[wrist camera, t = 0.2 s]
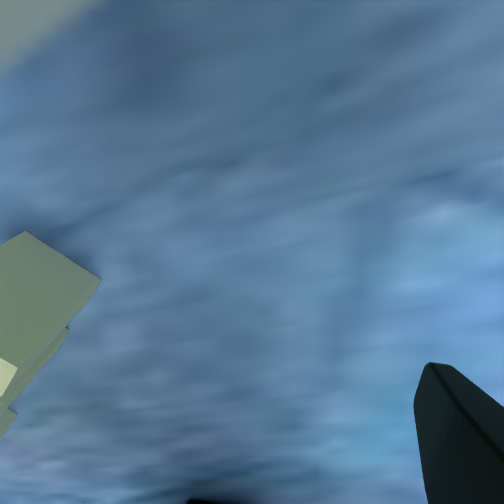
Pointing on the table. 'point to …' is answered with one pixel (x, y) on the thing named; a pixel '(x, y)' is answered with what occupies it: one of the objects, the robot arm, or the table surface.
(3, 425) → the domino
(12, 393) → the domino
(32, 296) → the domino
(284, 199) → the table surface
